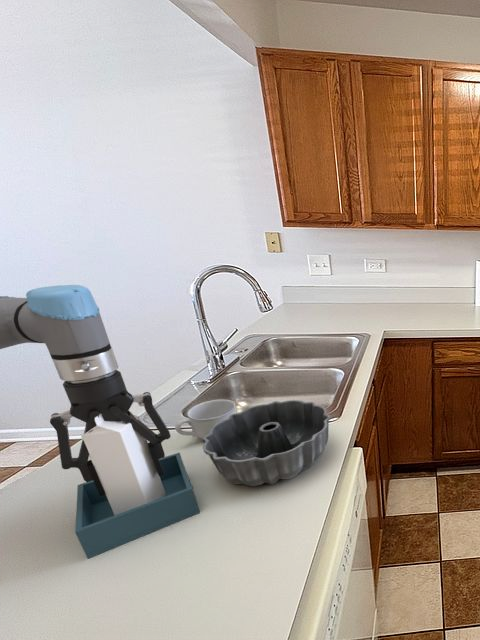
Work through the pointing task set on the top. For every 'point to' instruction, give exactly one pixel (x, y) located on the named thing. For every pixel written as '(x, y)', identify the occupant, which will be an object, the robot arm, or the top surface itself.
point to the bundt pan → (268, 441)
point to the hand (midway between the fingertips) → (132, 481)
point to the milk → (123, 464)
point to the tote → (133, 511)
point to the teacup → (206, 417)
